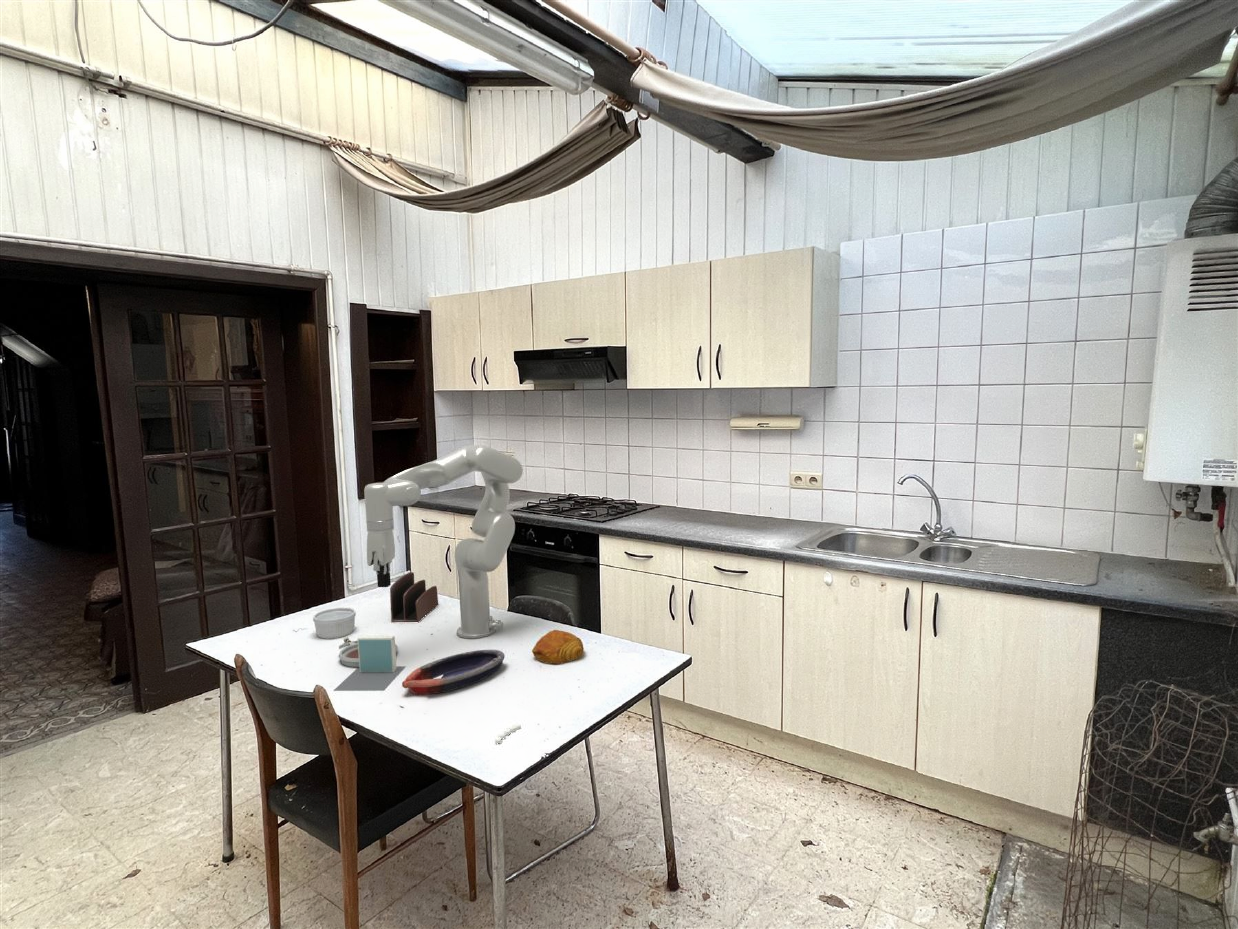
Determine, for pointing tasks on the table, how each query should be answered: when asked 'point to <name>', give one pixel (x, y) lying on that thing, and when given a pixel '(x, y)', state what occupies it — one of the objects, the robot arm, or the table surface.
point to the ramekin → (334, 622)
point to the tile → (377, 653)
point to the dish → (454, 671)
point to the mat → (368, 680)
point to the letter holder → (411, 599)
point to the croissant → (558, 647)
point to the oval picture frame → (351, 653)
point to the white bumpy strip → (506, 732)
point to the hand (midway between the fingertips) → (384, 586)
